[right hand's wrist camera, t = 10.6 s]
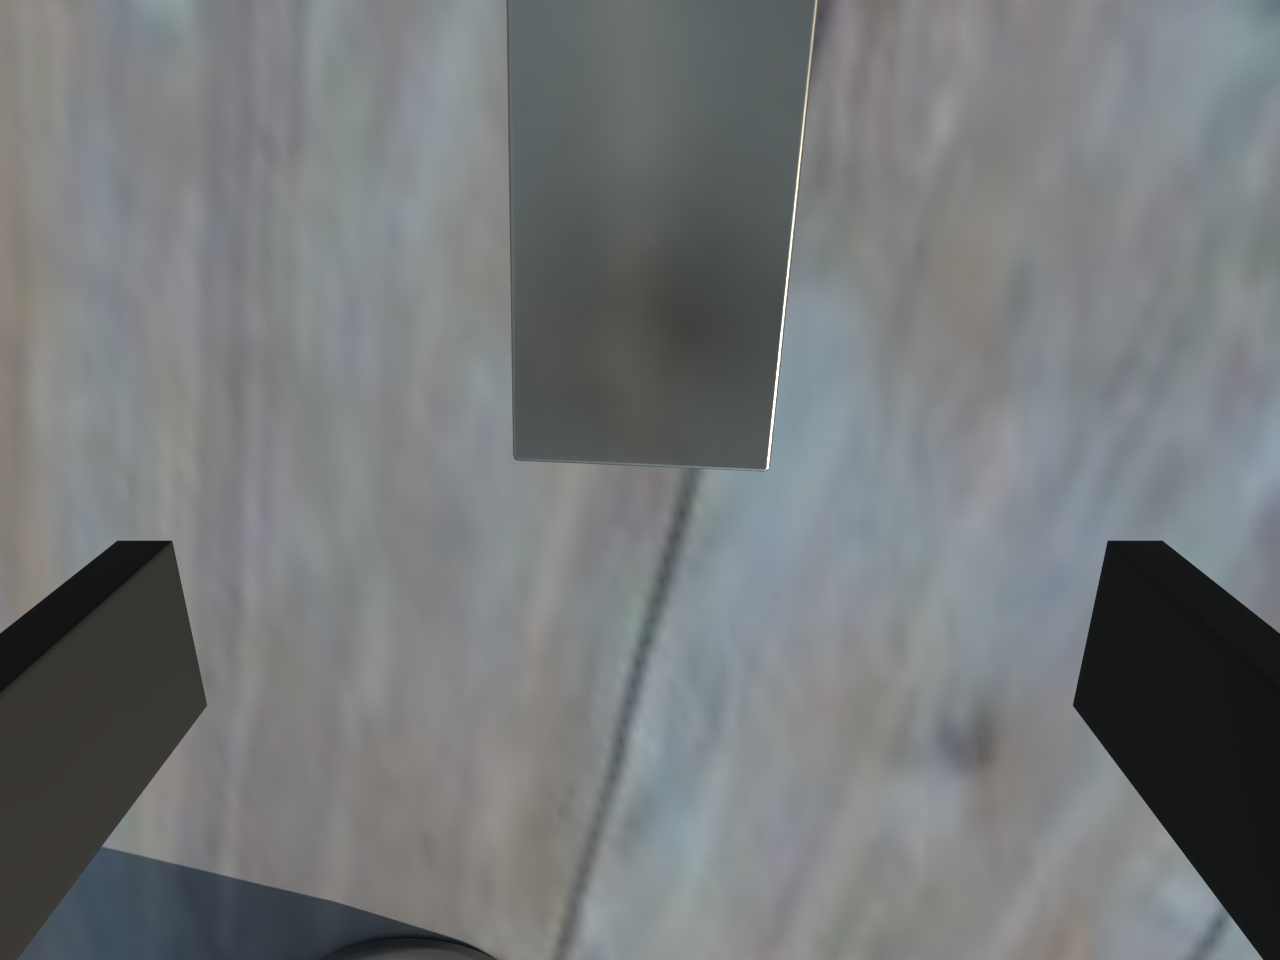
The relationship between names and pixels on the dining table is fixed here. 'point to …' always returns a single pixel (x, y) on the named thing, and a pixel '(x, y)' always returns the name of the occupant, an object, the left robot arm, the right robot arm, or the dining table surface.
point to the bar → (652, 225)
